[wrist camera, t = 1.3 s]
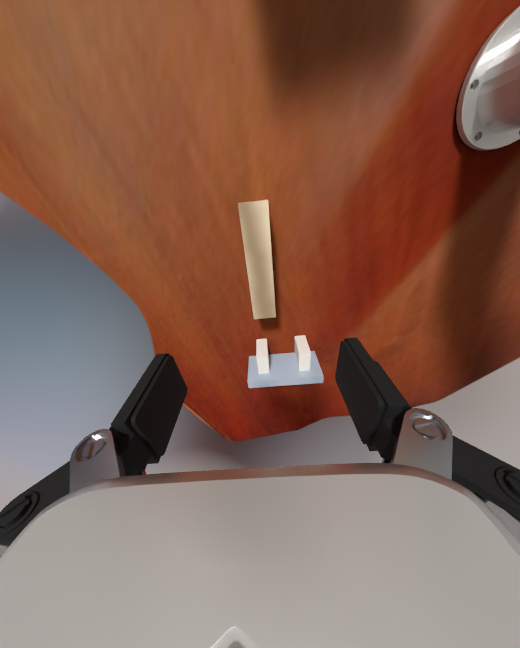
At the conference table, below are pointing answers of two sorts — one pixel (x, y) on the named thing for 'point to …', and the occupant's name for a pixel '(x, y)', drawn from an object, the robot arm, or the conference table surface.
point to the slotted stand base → (284, 366)
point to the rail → (258, 256)
